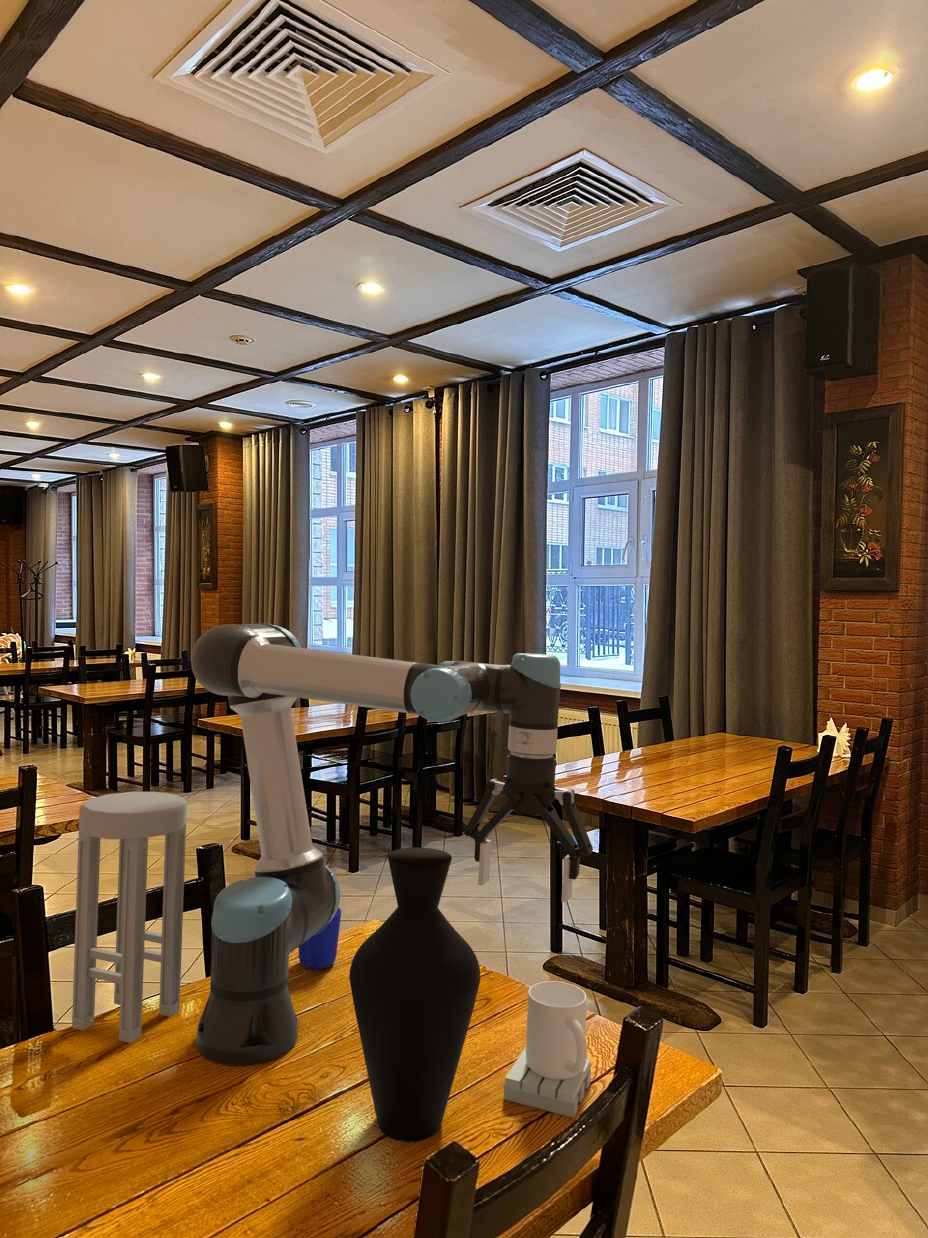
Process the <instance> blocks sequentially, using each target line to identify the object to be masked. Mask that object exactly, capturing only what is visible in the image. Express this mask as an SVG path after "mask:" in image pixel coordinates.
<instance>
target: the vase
mask: <svg viewBox="0 0 928 1238" xmlns="http://www.w3.org/2000/svg"><path fill="white" fill-rule="evenodd" d="M452 859H453V857H452V855H451V854H450V853H449V852H446V851H444V850H441V849H437V848H431V847H405V848H404V847H403V848H400V849H399V848H398V849H395V850H392V851H390V852H389V853H387V860H388V865H389V869H390V870H389V871H390V875H391V879H392V885H393V889H394V893H395V899H396V904H397V907H396V908H395V910H394V911H393V912H392V913H391V914H390V915H389V916H388V918H386V920H385V921H384V922H383V923H382V924H381V925H380V926H379V927H378V928H377V929H376V930H375V931H373V932H372V934H371V935H369V937H368V938H366V939H365V941H364V942H363V943H362V944H361V945H360V946H359V948H358V949H357V950H356V952H355V954H354V956H353V957H352V960H351V963H350V969H349V977H348V979H349V983H350V989H351V996H352V1003H353V1007H354V1012H355V1019H356V1023H357V1028H358V1031H359V1032H358V1033H359V1038H360V1042H361V1048H362V1053H363V1056H364V1057H363V1058H364V1062H365V1063H364V1064H365V1067H366V1071H367V1078H368V1082H369V1083H368V1084H369V1088H370V1092H371V1097H372V1102H373V1103H372V1104H373V1107H374V1112H375V1117H376V1121H377V1127H378V1128H379V1130H380V1132H381V1133H382V1134H384V1135H385V1136H386V1137H387V1138H390V1139H392V1140H395V1141H398V1142H404V1143H408V1142H409V1143H410V1142H411V1143H414V1142H420V1141H424V1140H427V1139H429V1138H432V1137H433V1136H435V1135H436V1134H437V1133H438V1132H439V1131H440V1128H441V1126H442V1123H443V1119H444V1117H445V1112H446V1110H447V1105H448V1101H449V1097H450V1095H451V1091H452V1087H453V1084H454V1080H455V1076H456V1073H457V1069H458V1065H459V1062H460V1059H461V1056H462V1052H463V1048H464V1045H465V1040H466V1038H467V1033H468V1030H469V1026H470V1022H471V1019H472V1015H473V1013H474V1009H475V1005H476V1002H477V1001H476V1000H477V996H478V993H479V989H480V988H479V987H480V983H481V968H480V963H479V960H478V957H477V956H476V953H475V951H474V950H473V948H472V947H471V946H470V943H468V942H467V941H466V940H465V939H464V937H463V936H462V935H461V934H459V933H460V932H458V931H457V930H456V929H455V928H454V926H452V924H451V923H450V922H449V920H448V919H447V918H446V917H445V916H444V914H443V913H442V912H441V910H440V909H439V904H440V901H441V897H442V894H443V891H444V887H445V885H446V884H445V883H446V880H447V877H448V874H449V870H450V866H451V863H452Z"/></svg>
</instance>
